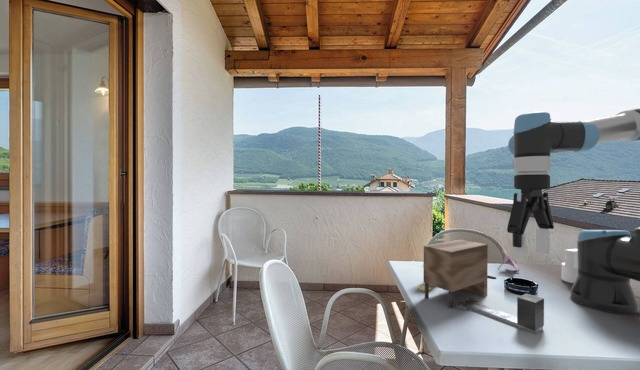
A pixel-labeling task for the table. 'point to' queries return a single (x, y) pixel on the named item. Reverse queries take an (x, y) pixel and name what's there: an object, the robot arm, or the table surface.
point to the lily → (508, 261)
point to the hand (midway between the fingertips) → (531, 256)
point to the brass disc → (423, 288)
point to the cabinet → (456, 267)
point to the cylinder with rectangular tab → (570, 266)
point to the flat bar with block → (527, 312)
